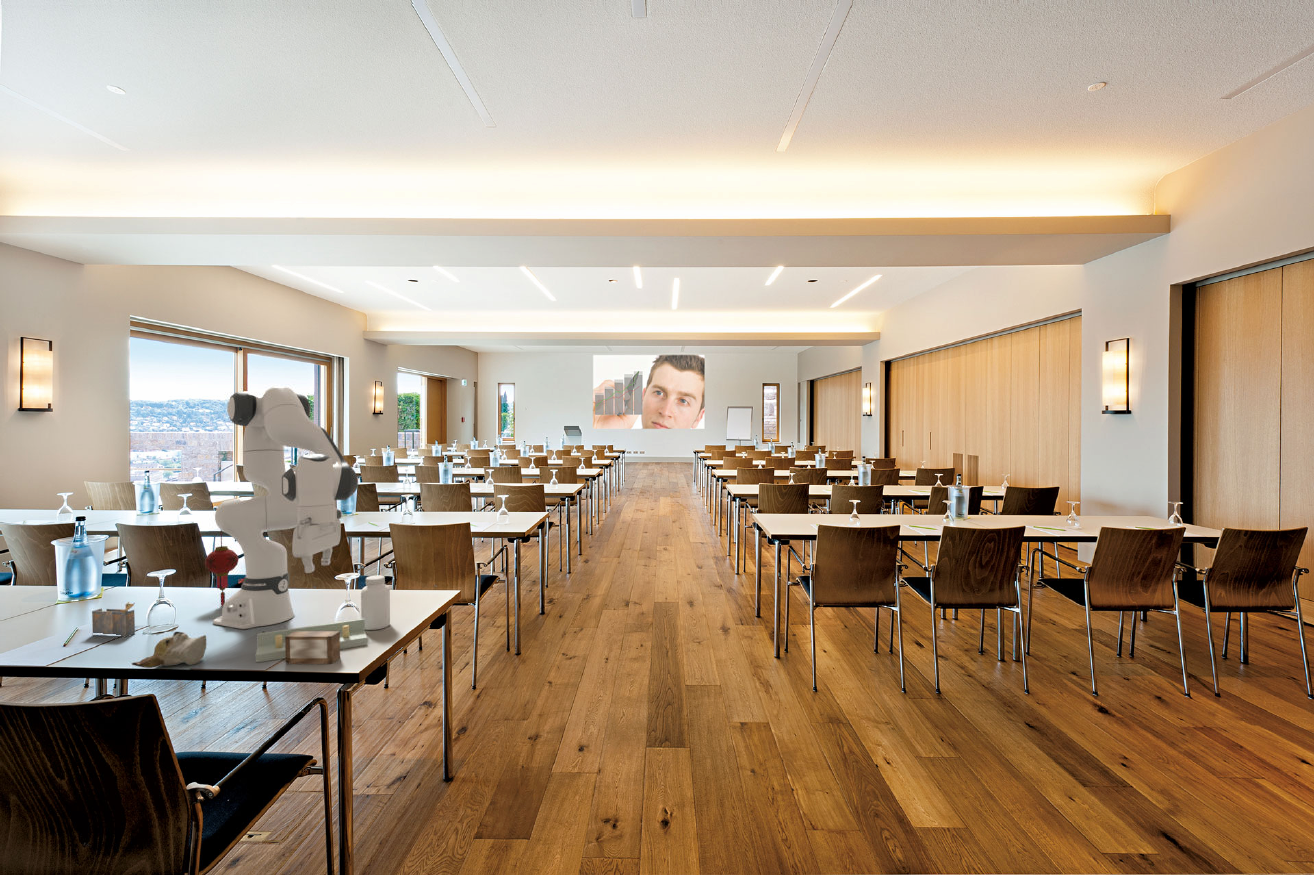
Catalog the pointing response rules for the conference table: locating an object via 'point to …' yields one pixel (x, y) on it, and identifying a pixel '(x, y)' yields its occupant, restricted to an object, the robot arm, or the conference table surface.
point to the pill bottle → (375, 603)
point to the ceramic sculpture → (176, 651)
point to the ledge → (274, 642)
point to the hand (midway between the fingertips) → (318, 568)
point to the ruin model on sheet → (114, 621)
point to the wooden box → (312, 647)
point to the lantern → (221, 566)
